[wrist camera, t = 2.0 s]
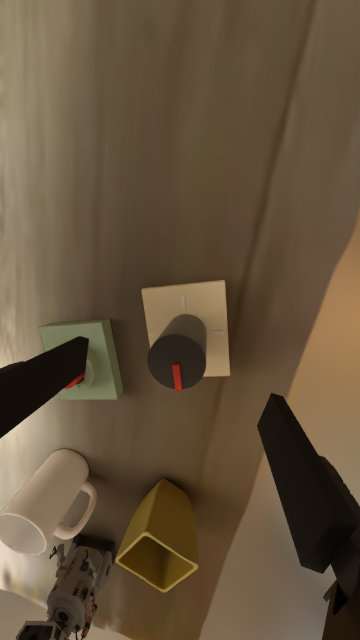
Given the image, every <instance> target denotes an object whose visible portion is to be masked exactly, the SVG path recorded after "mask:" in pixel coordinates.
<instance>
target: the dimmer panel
mask: <svg viewBox="0 0 360 640" xmlns="http://www.w3.org/2000/svg"><path fill="white" fill-rule="evenodd" d="M141 290H142V297H143V303H144V310H145V317H146V323H147V330H148V336H149V343H150V348H151V346H152V345H153V343H154V342H155V341H156V340H157V338H158V337H159V336H160V334H161V333H162V332H163V331H164V329H165V328H166V327H167V325H168V324H169V323H170V322H171V320H172V319H174V318H175V317H177V316H179V315H183V314H190V315H193V316H196V317H197V318H199V319H200V320H201V321H202V322H203V323H204V325H205V327H206V330H207V355H206V370H205V373H204V375H203V377H206V376H230V364H229V345H228V327H227V308H226V289H225V281H224V280H215V281H205V282H196V283H186V284H176V285H167V286H157V287H148V288H144V289H141Z"/></svg>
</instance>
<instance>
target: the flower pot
mask: <svg viewBox="0 0 360 640" xmlns="http://www.w3.org/2000/svg"><path fill="white" fill-rule="evenodd" d="M115 562H116V563H118V564H119V565H121V566H122V567H124V568H126V569H127V570H129V571H130V572H132V573H134V574H135V575H137V576H139V577H140V578H142V579H143V580H145V581H146V582H148V583H149V584H150V585H152V586H154V587H155V588H157V589H158V590H160V591H162V592H164V593H165V592H167V591H169V590H170V589H171V588H172V587H174V586H175V585H176V584H178V583H179V582H180V581H182V580H183V579H185V578H186V577H187V576H189V575H190V574H191V573H193V572H194V571H195V570H197V569H198V551H197V536H196V523H195V517H194V512H193V509H192V505H191V503H190V500H189V498H188V496H187V494H186V493H185V492H184V491H183V490H181V489H180V488H178V487H177V486H175V485H173V484H172V483H171V482H169V481H168V480H166V479H161V480H160V481H159V482H158V483H157V484H156V485H155V487H154V488H153V489H152V490H151V491H150V492H149V493H148V494H147V495H146V496H145V498H144V499H143V500H142V502H141V503H140V505H139V506H138V508H137V509H136V511H135V513H134V515H133V517H132V519H131V521H130V523H129V526H128V528H127V531H126V533H125V536H124V538H123V541H122V543H121V546H120V549H119V551H118V554H117V556H116V559H115Z"/></svg>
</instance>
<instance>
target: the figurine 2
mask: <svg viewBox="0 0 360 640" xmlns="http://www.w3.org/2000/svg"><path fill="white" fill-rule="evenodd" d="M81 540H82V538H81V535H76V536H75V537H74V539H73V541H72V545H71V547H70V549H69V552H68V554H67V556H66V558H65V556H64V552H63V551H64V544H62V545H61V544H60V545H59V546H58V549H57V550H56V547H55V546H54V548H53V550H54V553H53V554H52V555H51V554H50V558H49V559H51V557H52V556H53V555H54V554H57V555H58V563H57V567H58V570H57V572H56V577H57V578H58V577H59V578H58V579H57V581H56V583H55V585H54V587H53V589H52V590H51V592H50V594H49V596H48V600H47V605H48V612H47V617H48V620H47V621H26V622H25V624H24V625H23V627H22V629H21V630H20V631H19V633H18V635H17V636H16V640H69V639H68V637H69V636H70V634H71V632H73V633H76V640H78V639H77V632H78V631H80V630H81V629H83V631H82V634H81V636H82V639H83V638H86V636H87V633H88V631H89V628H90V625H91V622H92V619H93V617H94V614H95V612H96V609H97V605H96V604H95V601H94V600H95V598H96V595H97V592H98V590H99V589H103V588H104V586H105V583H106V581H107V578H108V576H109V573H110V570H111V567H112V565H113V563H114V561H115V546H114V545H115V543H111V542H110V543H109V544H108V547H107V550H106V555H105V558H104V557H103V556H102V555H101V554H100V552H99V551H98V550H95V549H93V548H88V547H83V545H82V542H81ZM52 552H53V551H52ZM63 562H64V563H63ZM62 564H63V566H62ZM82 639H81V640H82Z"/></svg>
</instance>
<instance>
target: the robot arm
mask: <svg viewBox="0 0 360 640" xmlns="http://www.w3.org/2000/svg"><path fill="white" fill-rule="evenodd" d="M88 345H89V338H85V337H82V336H78V337H76V338H74V339H72V340H70V341H68V342H65V343H63V344H61V345H59V346H57V347H55V348H53V349H51V350H49V351H46V352H44V353H42V354H40V355H38V356H36V357H34V358H32V359H30V360H28V361H25V362H23V361H21V362H17V363H13V364H10V365H7V366H5V367H3V368H1V369H0V438H2V437H3V436H4V435H5V434H7V433H8V432H9V431H10V430H12V429H13V428H14V427H16V426H17V425H18V424H19V423H21V422H22V421H23V420H24V419H26V418H27V417H28V416H30V415H31V414H32V413H33V412H35V411H36V410H37V409H38V408H40V407H41V406H42V405H44V404H45V403H46V402H47V401H49V400H50V399H51V398H52V397H54V396H55V395H56V394H58V393H59V392H60V391H61V390H63V389H64V388H65V387H66V386H68V385H69V384H70V383H72V382H73V381H74V380H75V379H77V378H78V377H79V376H80V375H82V374H83V373H84V372H85V370H86V362H87V354H88ZM257 427H258V430H259V433H260V437H261V440H262V443H263V446H264V449H265V453H266V455H267V459H268V462H269V465H270V468H271V472H272V475H273V478H274V481H275V484H276V487H277V490H278V494H279V497H280V500H281V503H282V507H283V510H284V513H285V516H286V519H287V522H288V526H289V529H290V532H291V535H292V538H293V541H294V545H295V548H296V551H297V554H298V557H299V561H300V564H301V566H303V567H305V568H308V569H311V570H313V571H316V572H319V573H322V574H323V573H324V572H325V570H326V569H327V567H328V566H329V565H330V564H331V566H332V568H333V571H334V573H335V576H336V578H337V579H336V581H335V582H334V583H333V585H332V586H331V587H330V588H329V589H328V591H327V592H326V593H325V595H324V597H323V598H324V599H325V601H326V602H327V601H328V600H329V598H330V601H329V606H328V612H327V616H326V622H325V627H324V632H323V637H322V640H360V506H359V505H358V503H357V502H356V500H355V498H354V497H353V496H352V495H351V494H350V491H349V489H348V488H347V486H346V484H344V483H343V480H342V478H341V477H340V475H339V474H338V472H337V471H336V469H335V468H334V467H333V466H332V465H331V464H330V463H329V461H328V460H327V459H326V458H325V457H322V456H319V455H318V454H317V452H316V451H315V449H314V447H313V446H312V444H311V442H310V441H309V439H308V437H307V436H306V434H305V432H304V431H303V429H302V427H301V426H300V424H299V422H298V421H297V419H296V417H295V416H294V414H293V412H292V411H291V409H290V407H289V406H288V405H287V402H286V401H285V399H284V397H283V396H280V395H276V394H273V393H271V395H270V397H269V400H268V402H267V404H266V406H265V409H264V411H263V413H262V416H261V418H260V420H259V423H258V425H257Z"/></svg>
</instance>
